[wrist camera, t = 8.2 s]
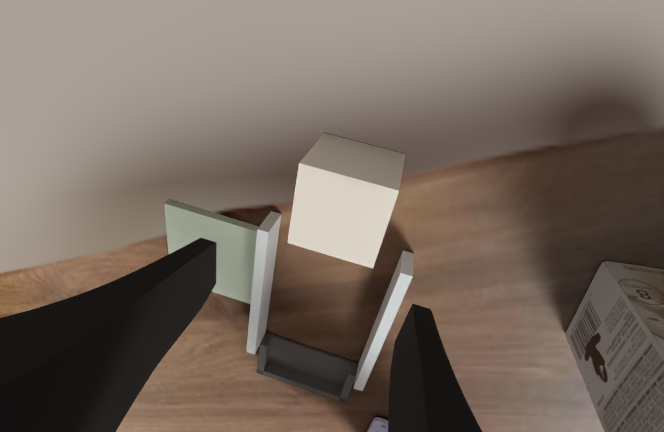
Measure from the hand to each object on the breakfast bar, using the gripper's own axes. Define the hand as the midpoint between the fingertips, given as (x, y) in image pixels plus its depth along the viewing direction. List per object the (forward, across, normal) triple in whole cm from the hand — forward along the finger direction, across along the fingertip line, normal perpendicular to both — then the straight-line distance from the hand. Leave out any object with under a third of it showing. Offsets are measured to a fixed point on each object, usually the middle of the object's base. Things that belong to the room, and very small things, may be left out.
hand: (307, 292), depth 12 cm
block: (+9, 0, 0) cm, 9 cm away
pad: (+9, +8, +8) cm, 15 cm away
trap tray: (+9, 0, +18) cm, 20 cm away
